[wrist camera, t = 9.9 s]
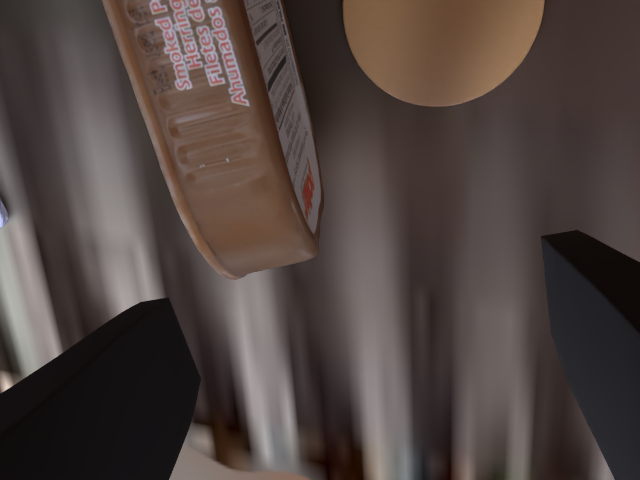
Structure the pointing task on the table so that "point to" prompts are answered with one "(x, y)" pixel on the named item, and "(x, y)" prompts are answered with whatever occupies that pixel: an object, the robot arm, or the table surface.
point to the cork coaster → (440, 45)
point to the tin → (227, 125)
